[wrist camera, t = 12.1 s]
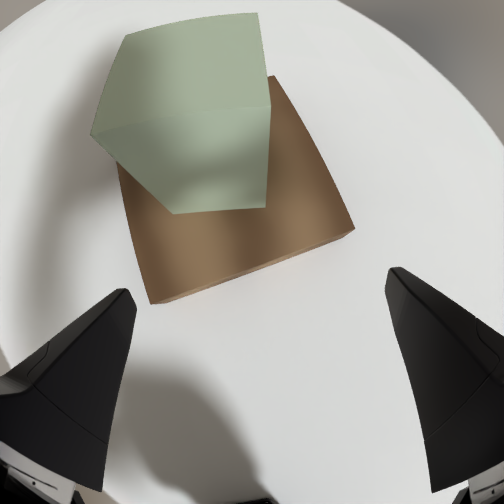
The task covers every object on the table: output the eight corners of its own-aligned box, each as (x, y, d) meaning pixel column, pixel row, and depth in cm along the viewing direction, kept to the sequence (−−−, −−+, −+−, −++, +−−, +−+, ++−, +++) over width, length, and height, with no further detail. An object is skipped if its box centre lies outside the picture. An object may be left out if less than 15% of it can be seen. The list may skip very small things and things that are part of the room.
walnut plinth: (165, 303, 19) (150, 304, 16) (127, 150, 21) (112, 133, 18) (342, 237, 20) (355, 228, 17) (272, 97, 22) (274, 75, 19)
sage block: (265, 207, 17) (271, 106, 7) (173, 214, 17) (90, 135, 7) (259, 128, 18) (257, 12, 8) (176, 137, 18) (125, 35, 8)
